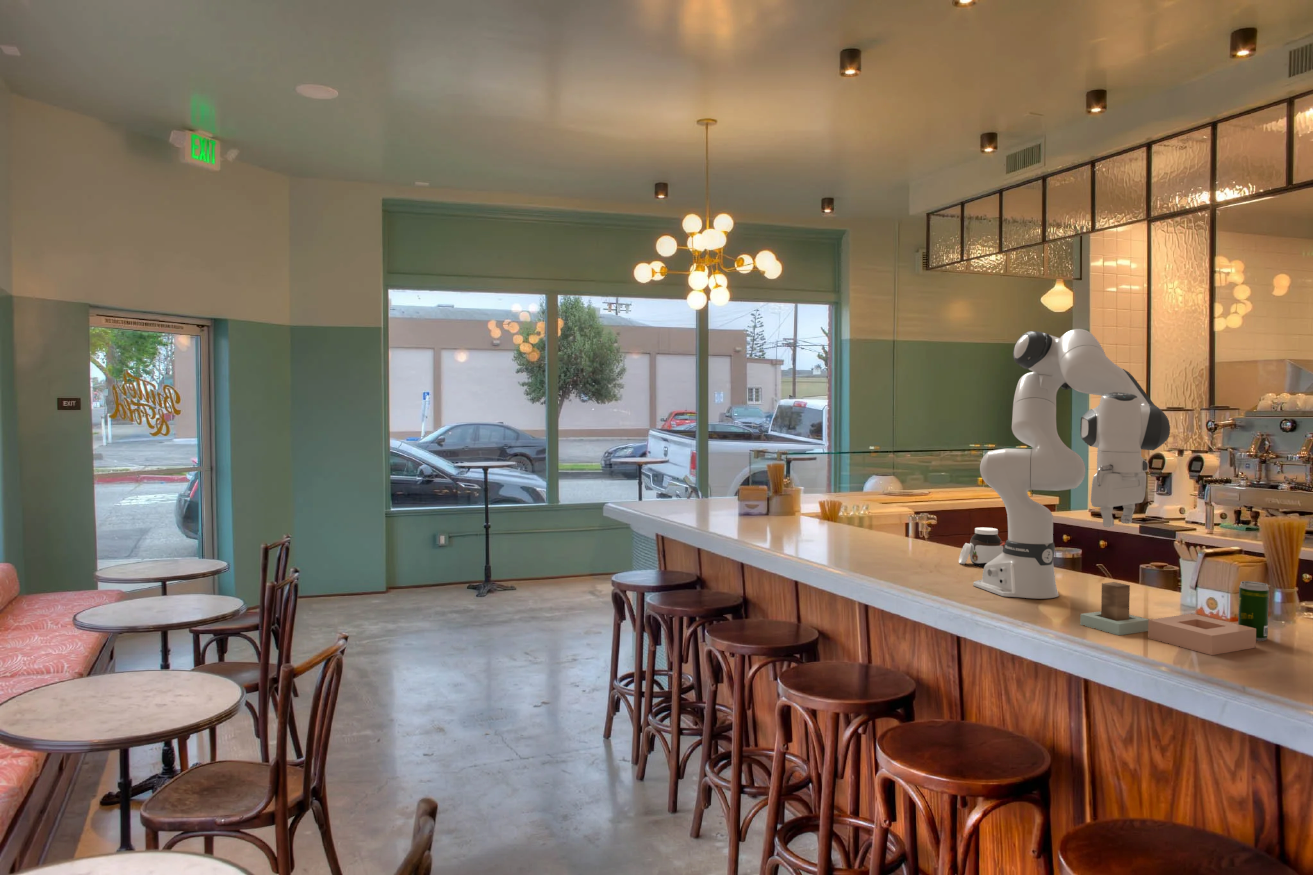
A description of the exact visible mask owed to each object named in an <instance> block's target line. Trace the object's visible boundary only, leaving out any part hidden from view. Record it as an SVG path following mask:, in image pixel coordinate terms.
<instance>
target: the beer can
mask: <svg viewBox="0 0 1313 875" xmlns="http://www.w3.org/2000/svg"><path fill="white" fill-rule="evenodd" d="M1269 595H1270V588H1269V585H1268V583H1264V582H1261V581H1253V580H1252V581H1251V580H1250V581H1249V580H1242V581H1240V584H1239V586H1238V614H1237V615H1238V621H1237V624H1239V625H1243V626H1247V627H1251V628H1256V642H1265V641H1267V639H1268V636H1269V603H1270V602H1269V601H1270V596H1269Z"/></svg>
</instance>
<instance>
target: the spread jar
mask: <svg viewBox="0 0 1313 875" xmlns="http://www.w3.org/2000/svg"><path fill="white" fill-rule="evenodd" d="M998 534H999V530H998V528H995V527H994V528H993V527H983V526H982V527H975V528H974V534H973V535H972V536H971V538H970V541H969V543H967V542H965V543H964V544H963V546H962V549H961V551H960V554H959V556H958V563H959V564H960V565H965V564H966V563H967V561H968V559H970V561H971V564H972V565H974V566H975V567H979V568H984V567H985V565H986V564H987V563H988V562H990V561H991V560H993V559H994V558H996V557H997V556H998V555H1000V554H1001V553H1003V548H1004V546H1000V545H1001V544H1003V543H1000V542H1002V539H1001V538H1000V537H999V535H998Z"/></svg>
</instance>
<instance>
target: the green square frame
mask: <svg viewBox="0 0 1313 875" xmlns="http://www.w3.org/2000/svg"><path fill="white" fill-rule="evenodd" d="M1148 620H1151V619H1148V618H1145V617H1141V616H1137V615H1133V614H1130V613H1129V620H1122V621H1115V620H1111V619H1107V618H1103V617H1101V611H1092V612H1084V613H1080V620H1079V621H1080V625H1081V626H1083V625H1085V626H1084V627H1087V628H1090V627H1091V629H1094V628H1096V629H1095V630H1098V631H1101V630H1102V631H1101V632H1105V633H1108V632H1109V634H1113V635H1116V636H1123V635H1132V634H1137V633H1144V632H1148ZM1080 625H1079V626H1080Z"/></svg>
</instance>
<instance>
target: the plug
mask: <svg viewBox="0 0 1313 875" xmlns="http://www.w3.org/2000/svg"><path fill="white" fill-rule="evenodd" d="M1130 587H1131V586H1130V585H1129V584H1126V583H1121V582H1117V581H1111V582H1102V583H1101V605H1100V606H1101V607H1100V610H1101V617H1103V618H1107V619H1111V620H1115V621H1122V620H1129V614H1130V597H1131V596H1130V591H1131V588H1130Z"/></svg>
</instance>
